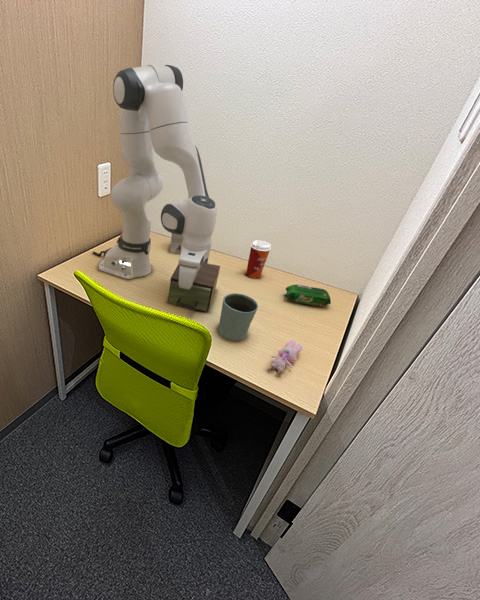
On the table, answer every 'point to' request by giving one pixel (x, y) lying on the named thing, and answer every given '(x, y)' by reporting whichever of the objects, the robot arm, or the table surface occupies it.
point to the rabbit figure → (286, 356)
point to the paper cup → (257, 258)
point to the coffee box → (176, 243)
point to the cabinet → (202, 278)
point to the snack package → (308, 295)
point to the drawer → (190, 296)
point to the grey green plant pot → (236, 316)
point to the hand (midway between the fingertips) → (189, 286)
